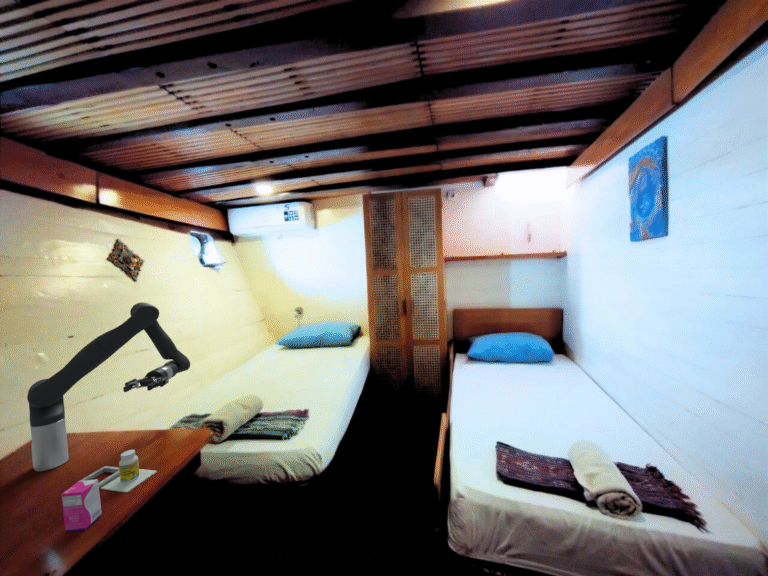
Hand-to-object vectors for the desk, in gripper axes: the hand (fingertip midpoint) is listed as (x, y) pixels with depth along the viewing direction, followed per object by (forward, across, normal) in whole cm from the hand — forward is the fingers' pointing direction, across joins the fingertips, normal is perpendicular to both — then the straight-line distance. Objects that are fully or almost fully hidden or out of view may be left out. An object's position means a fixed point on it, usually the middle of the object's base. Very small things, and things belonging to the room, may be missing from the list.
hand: (136, 389), depth 125 cm
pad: (+16, +6, +28) cm, 32 cm away
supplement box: (+35, +5, +28) cm, 45 cm away
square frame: (+13, -5, +28) cm, 31 cm away
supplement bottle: (+15, +5, +28) cm, 32 cm away
